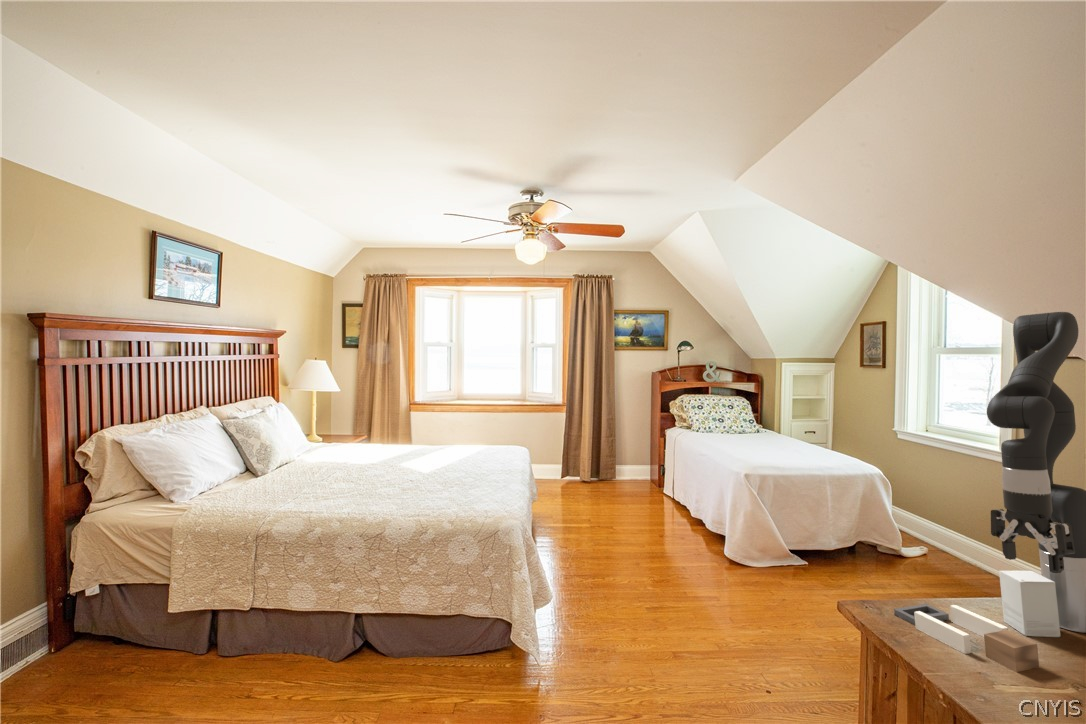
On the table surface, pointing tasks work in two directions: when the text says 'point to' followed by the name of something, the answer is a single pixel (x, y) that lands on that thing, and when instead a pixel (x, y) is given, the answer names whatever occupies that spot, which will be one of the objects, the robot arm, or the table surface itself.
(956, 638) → the white guide rails
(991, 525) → the robot arm
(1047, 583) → the supplement box
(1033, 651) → the walnut block
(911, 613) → the frame
